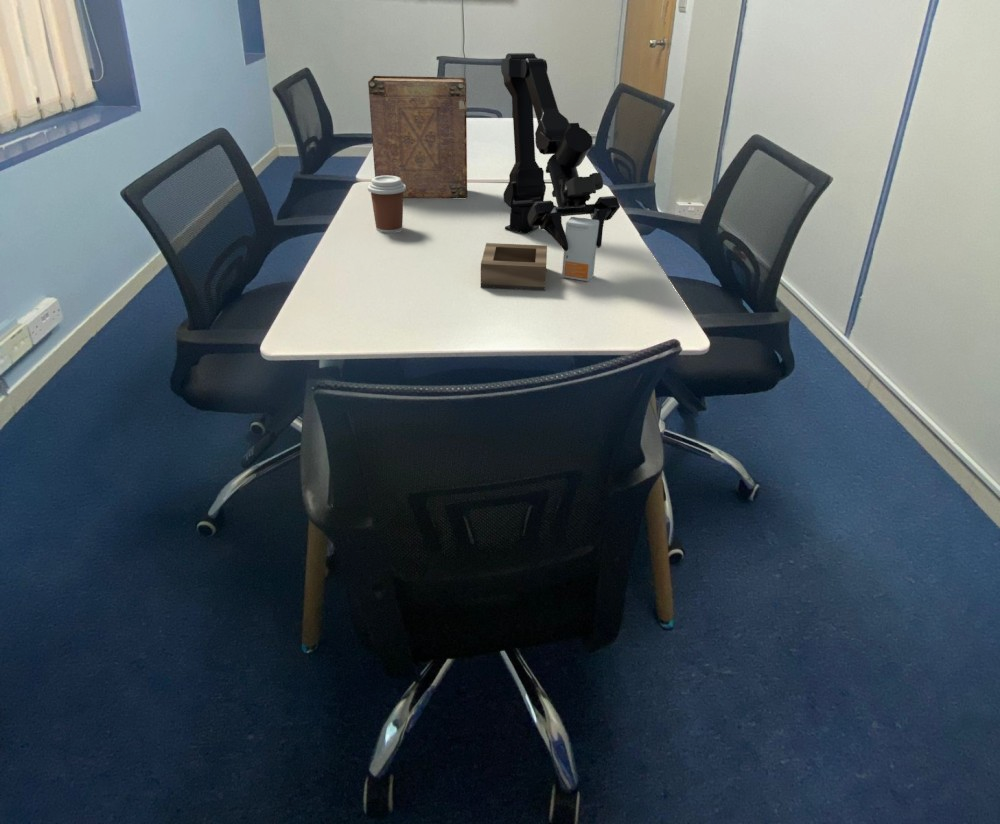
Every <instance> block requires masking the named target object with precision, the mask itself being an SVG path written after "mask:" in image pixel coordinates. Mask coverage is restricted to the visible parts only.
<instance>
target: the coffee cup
mask: <svg viewBox="0 0 1000 824" xmlns="http://www.w3.org/2000/svg"><path fill="white" fill-rule="evenodd" d="M370 181H371V182H370V183H369V184H368V185H367V191H368V192H369V193H370V196H371V203H372V209H373V217H374V224H375V230H376V231H377V232H380V233H384V234H385V233H386V234H390V233H397V232H401V231H402V230H403V218H404V216H403V215H404V198H403V192H404V191H405V190H406V186H405V184H403V183H402V182H401V178H399V177H397V176H388V175H386V176H377V177H375V176H374V177H372V179H371V180H370Z"/></svg>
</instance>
